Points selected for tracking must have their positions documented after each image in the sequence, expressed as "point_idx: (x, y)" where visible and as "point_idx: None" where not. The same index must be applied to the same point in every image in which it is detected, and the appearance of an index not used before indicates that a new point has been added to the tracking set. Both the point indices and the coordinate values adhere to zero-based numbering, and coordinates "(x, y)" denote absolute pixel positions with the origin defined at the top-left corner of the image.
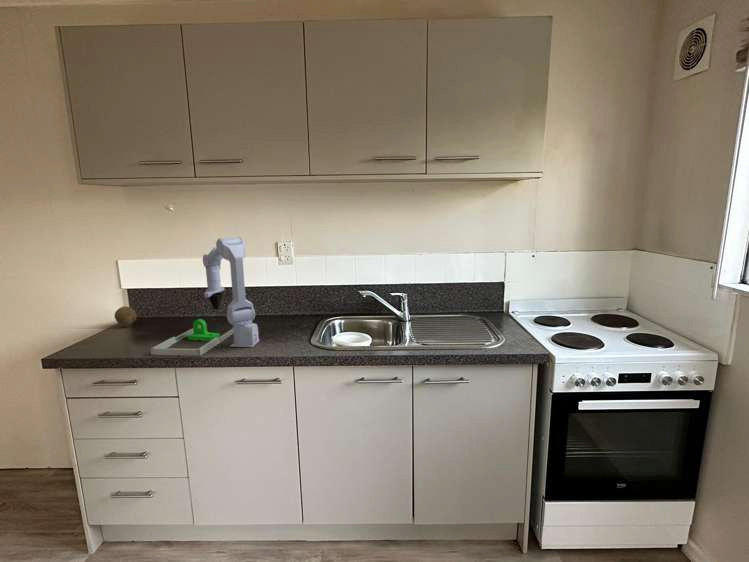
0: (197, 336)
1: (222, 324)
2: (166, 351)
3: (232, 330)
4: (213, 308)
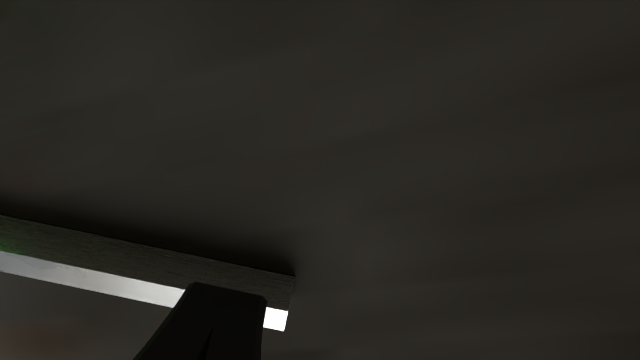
0: None
1: (586, 67)
2: None
3: (100, 289)
4: (178, 301)
